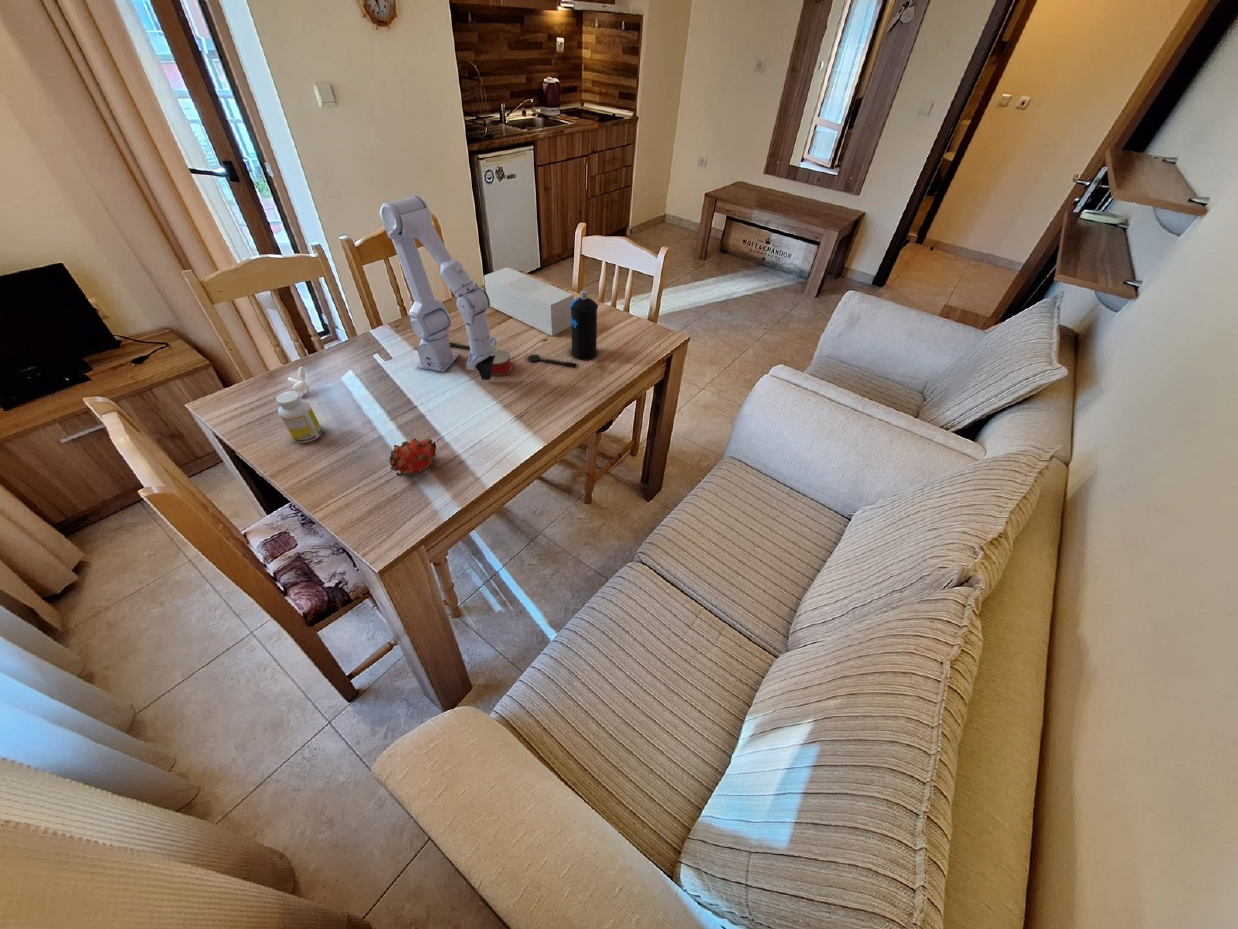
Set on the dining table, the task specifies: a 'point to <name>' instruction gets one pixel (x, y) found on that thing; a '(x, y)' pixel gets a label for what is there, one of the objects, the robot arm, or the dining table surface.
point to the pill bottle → (298, 417)
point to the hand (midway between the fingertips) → (486, 378)
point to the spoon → (550, 361)
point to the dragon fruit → (412, 456)
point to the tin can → (501, 363)
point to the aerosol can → (584, 327)
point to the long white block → (529, 300)
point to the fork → (459, 346)
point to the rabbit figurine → (299, 382)
